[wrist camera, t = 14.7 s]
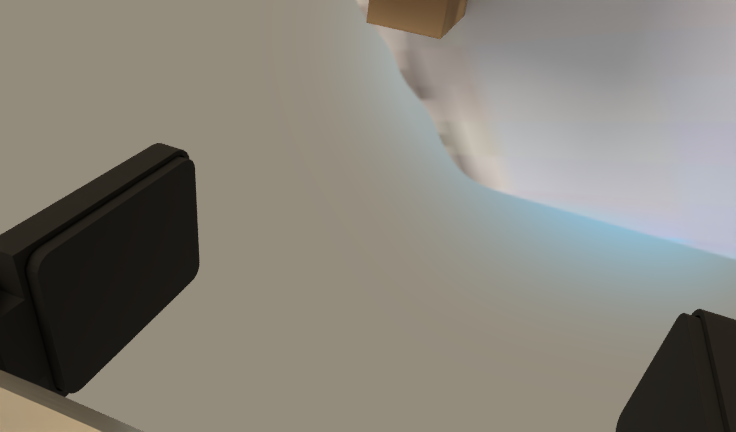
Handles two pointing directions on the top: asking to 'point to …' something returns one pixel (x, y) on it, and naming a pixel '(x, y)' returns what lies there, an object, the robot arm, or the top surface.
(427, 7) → the brown piece
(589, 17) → the top surface
